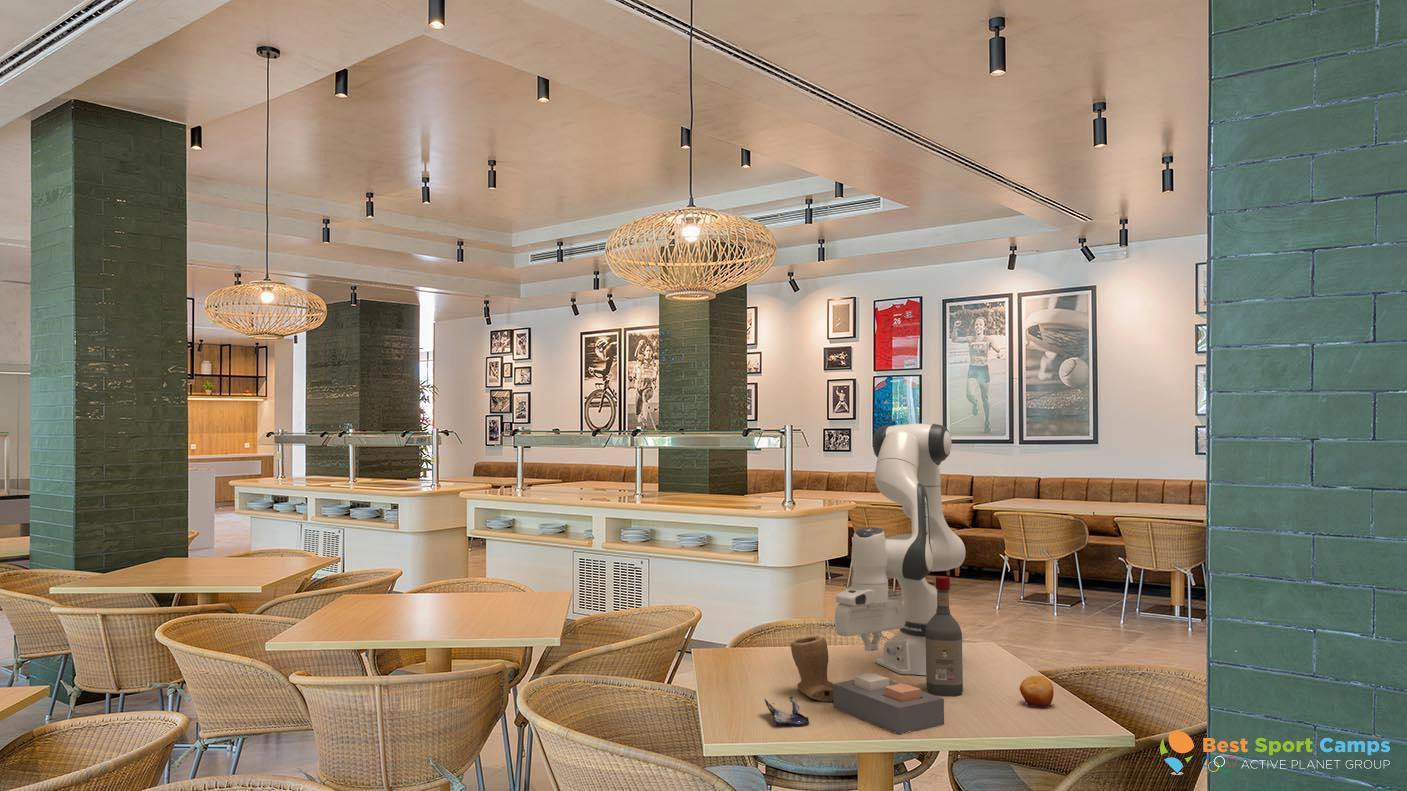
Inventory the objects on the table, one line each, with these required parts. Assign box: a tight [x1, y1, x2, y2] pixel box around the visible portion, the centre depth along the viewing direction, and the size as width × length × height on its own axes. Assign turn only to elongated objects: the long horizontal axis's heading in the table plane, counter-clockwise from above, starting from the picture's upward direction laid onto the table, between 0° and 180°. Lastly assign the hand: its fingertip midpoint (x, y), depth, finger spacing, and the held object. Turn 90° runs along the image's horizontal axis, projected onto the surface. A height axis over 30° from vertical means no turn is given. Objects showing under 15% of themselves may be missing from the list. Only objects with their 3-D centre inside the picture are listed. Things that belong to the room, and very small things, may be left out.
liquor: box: [925, 575, 964, 697], centre depth 251 cm, size 9×9×30 cm
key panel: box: [832, 679, 945, 735], centre depth 230 cm, size 24×14×6 cm, turn 31°
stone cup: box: [790, 635, 834, 702], centre depth 248 cm, size 15×12×15 cm
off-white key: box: [854, 672, 890, 691], centre depth 235 cm, size 6×6×3 cm
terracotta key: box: [884, 682, 922, 702], centre depth 226 cm, size 6×6×3 cm
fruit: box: [1019, 675, 1055, 708], centre depth 239 cm, size 8×8×8 cm
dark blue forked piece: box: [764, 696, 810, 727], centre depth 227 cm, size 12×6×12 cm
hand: (871, 650), depth 235 cm, fingers closed
